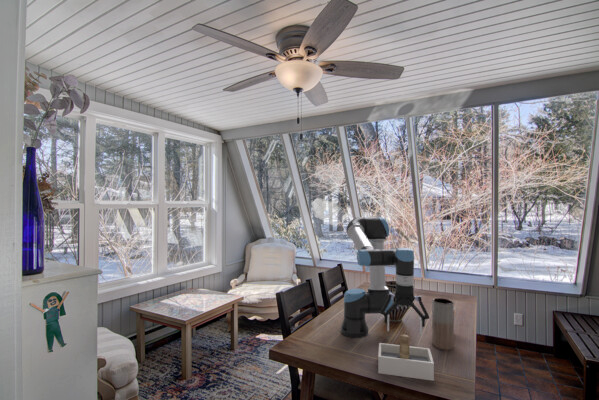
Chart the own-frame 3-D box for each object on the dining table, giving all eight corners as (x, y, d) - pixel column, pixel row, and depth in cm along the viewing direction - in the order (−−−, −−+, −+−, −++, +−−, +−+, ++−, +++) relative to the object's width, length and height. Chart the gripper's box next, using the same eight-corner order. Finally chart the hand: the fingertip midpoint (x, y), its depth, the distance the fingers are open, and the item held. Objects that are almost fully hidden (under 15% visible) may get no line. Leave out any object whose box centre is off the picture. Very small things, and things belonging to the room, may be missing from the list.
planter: (432, 348, 160) (432, 302, 160) (432, 340, 170) (431, 297, 170) (454, 351, 157) (454, 304, 157) (452, 343, 166) (452, 299, 166)
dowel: (399, 365, 143) (399, 334, 143) (408, 366, 142) (408, 335, 142) (399, 370, 139) (399, 337, 139) (409, 371, 138) (409, 338, 138)
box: (378, 373, 137) (378, 356, 137) (379, 357, 150) (379, 342, 150) (433, 380, 131) (433, 363, 131) (429, 364, 144) (429, 348, 144)
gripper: (375, 284, 140) (374, 332, 141) (436, 288, 134) (436, 339, 134) (375, 279, 148) (375, 325, 148) (433, 283, 141) (433, 331, 141)
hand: (404, 332), depth 141 cm, fingers open, 13 cm apart
